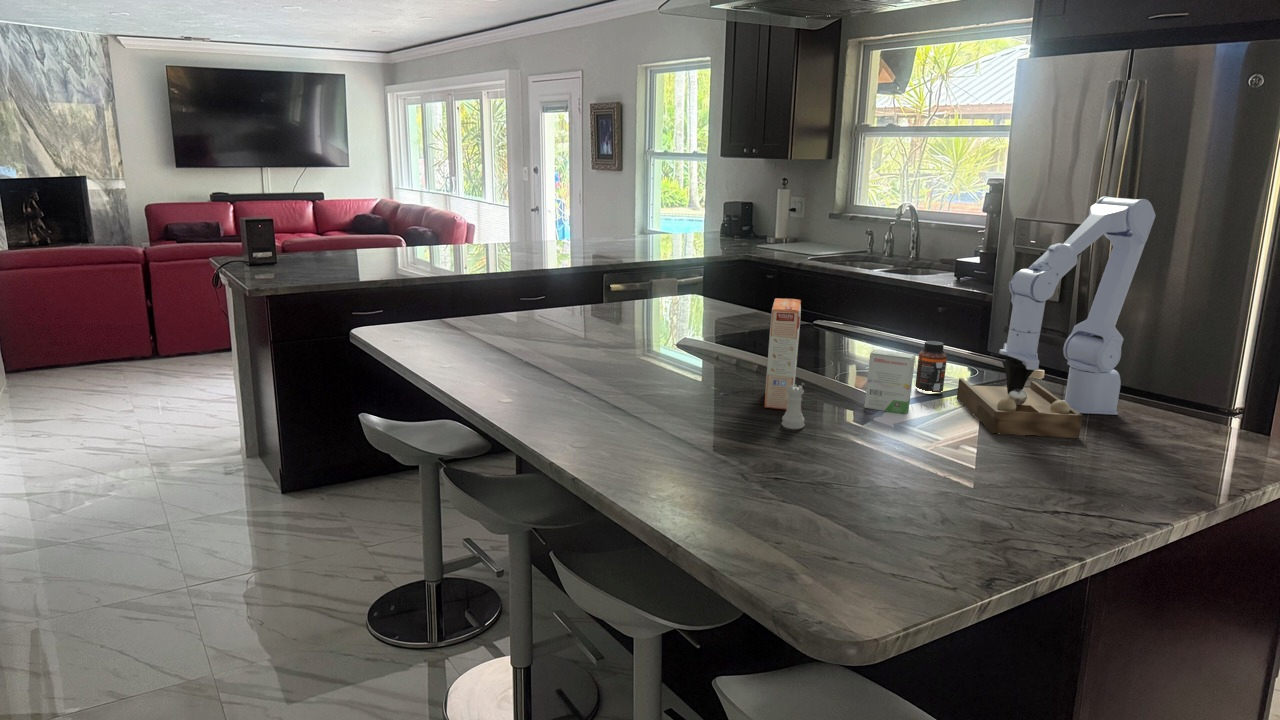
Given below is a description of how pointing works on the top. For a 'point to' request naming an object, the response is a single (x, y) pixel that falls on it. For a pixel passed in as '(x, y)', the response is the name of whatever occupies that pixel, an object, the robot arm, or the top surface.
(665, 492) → the top surface
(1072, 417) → the board
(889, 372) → the ink box
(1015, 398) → the steel ball
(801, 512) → the top surface
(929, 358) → the supplement bottle
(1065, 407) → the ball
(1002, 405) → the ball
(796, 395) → the rook chess piece
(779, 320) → the cracker box
